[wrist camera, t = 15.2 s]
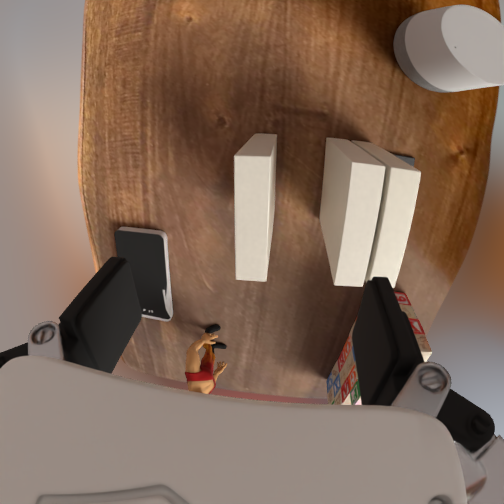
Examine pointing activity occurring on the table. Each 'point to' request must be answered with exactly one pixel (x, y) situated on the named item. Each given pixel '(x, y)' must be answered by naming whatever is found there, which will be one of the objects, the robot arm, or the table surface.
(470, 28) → the smart speaker
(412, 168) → the white books
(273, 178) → the cream book
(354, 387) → the stack of blocks
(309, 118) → the table surface
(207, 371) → the action figure
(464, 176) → the table surface
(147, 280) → the smartphone
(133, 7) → the table surface
